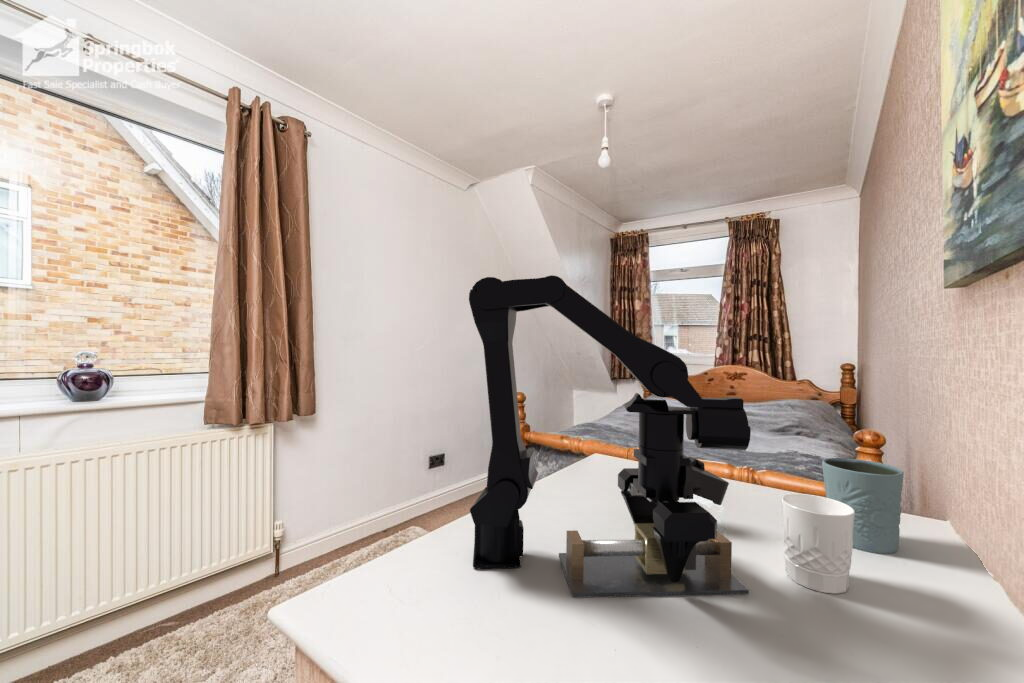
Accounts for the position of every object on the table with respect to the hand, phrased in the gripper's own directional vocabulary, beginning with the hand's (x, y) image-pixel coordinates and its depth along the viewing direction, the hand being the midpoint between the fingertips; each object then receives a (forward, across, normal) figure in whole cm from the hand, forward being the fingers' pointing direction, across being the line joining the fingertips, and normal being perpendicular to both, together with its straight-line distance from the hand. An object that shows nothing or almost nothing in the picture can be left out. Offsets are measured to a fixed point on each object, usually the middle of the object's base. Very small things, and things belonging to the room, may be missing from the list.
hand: (659, 562), depth 58 cm
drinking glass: (+2, +9, -36) cm, 37 cm away
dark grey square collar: (0, 0, -3) cm, 3 cm away
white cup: (+2, -2, -20) cm, 20 cm away
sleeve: (0, 0, 0) cm, 0 cm away
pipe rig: (+2, 0, +2) cm, 2 cm away
